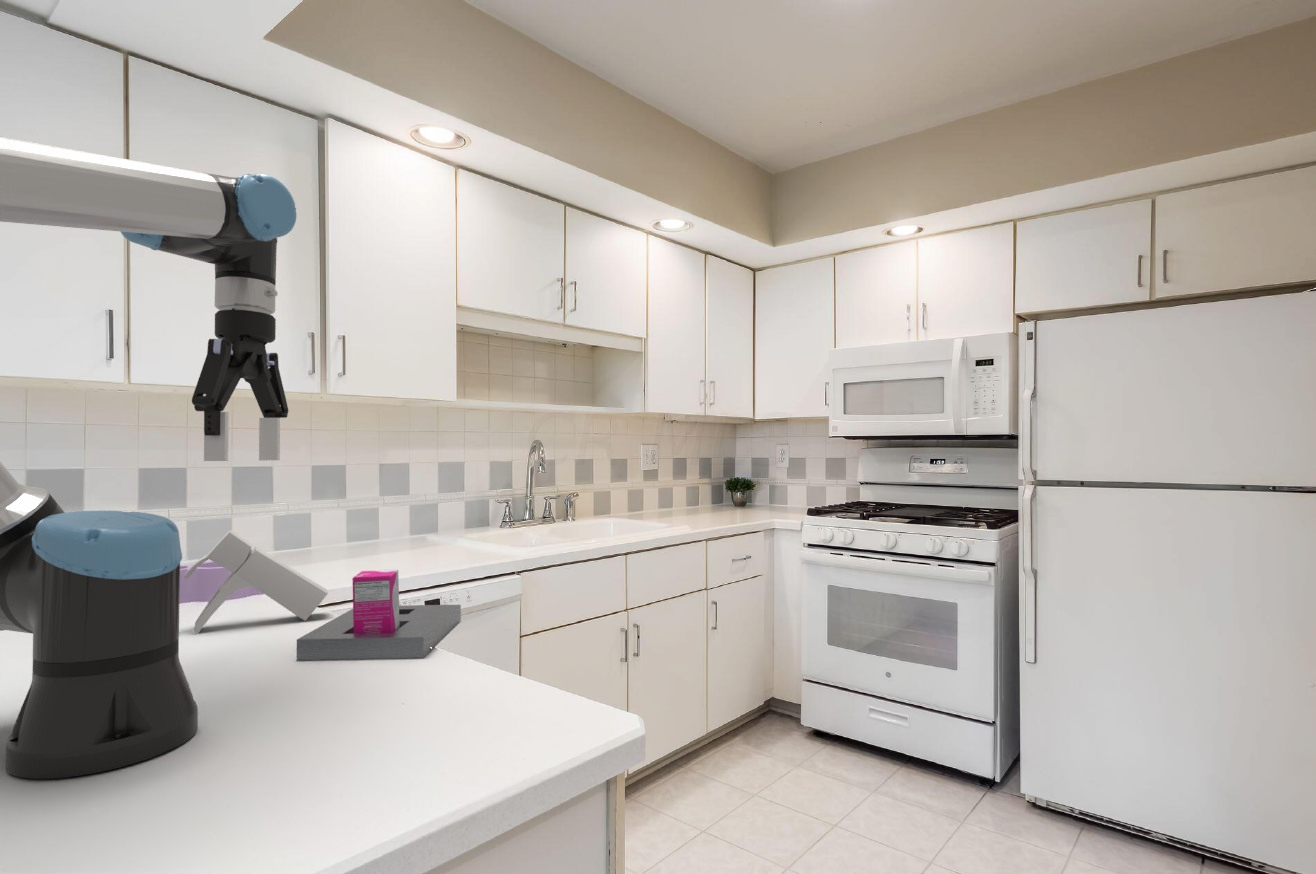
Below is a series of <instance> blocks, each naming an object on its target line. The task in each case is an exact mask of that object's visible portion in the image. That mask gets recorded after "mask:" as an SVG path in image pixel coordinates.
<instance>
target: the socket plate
mask: <svg viewBox="0 0 1316 874" xmlns="http://www.w3.org/2000/svg"><path fill="white" fill-rule="evenodd" d="M461 607H462V605H461V604H428V605H427V604H426V605H425V604H424V605H422V604H421V605H418V604H416V605H415V604H414V605H411V604H410V605H399V625H400V628H399V629H398V630H397V631H395V632H394V633H365V634H354V629H353V608H352V609H350V610H348V611H346V612H345V613H343V614H341V615H338V616H337V617H335V618H333V619H332V620H330V621H328V622H325V623H324V624H322V625H320V626H318V627H317V628H315V629H314V630H311V631H310V632H308V633H306V634H304V635H302V636H300V637H299V638H297V639H296V661H297V662H298V661H336V660H337V661H338V660H340V661H341V660H386V659H387V660H391V659H392V660H393V659H396V658H401V659H424V658H426V656H427V655H428V654H430V652H432V650H433V649H434V648H436V647H437V645H439V644H440V643H441V641H443V640H444V639H445V638H446V637H447V636H448V635H449V634H450V633H451V632H452V631H453V630H454V629H455V628H456V627H457V626H458V625H459V624H461V622H462V620H461V619H462V617H461V616H462V614H461V613H462V609H461ZM430 647H432V648H433V649H431V648H430Z"/></svg>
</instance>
